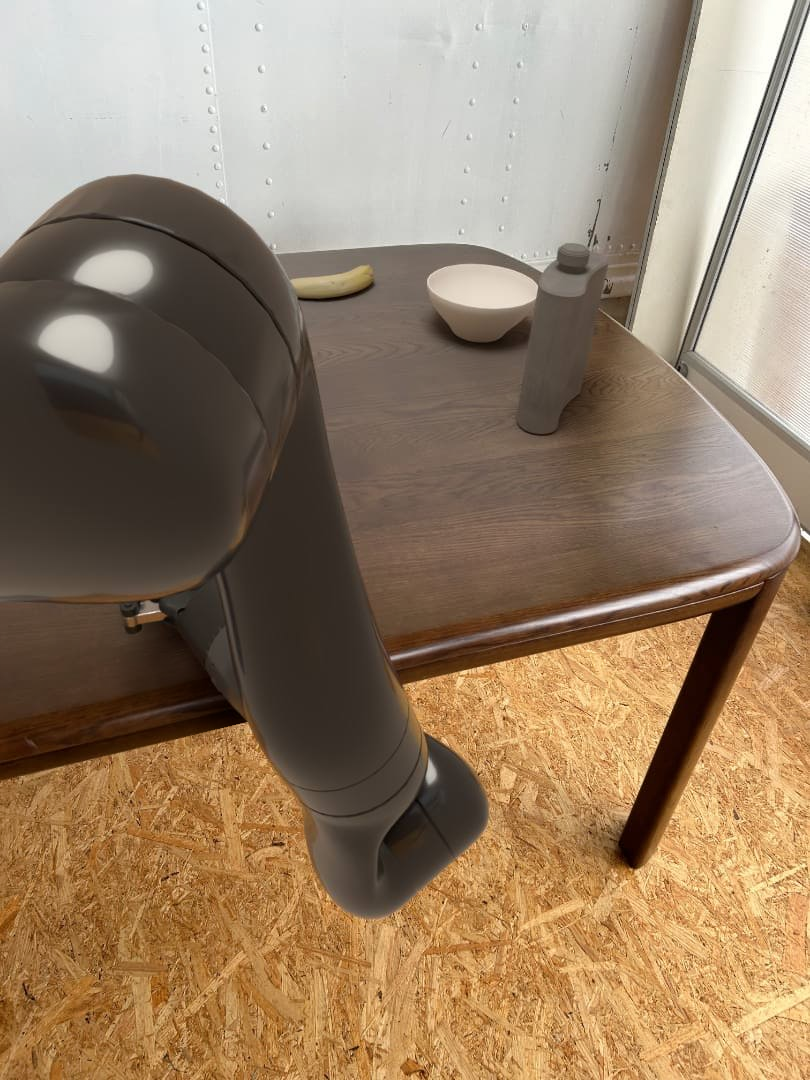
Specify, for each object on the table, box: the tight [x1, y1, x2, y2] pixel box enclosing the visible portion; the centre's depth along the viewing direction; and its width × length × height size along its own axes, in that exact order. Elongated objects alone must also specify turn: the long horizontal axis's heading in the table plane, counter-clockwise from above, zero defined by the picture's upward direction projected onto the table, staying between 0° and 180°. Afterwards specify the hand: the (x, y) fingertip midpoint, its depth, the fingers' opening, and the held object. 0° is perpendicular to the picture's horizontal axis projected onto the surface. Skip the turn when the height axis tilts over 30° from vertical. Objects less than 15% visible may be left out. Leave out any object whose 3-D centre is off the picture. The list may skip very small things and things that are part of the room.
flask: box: [516, 242, 610, 435], centre depth 93 cm, size 15×6×20 cm, turn 154°
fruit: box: [290, 264, 375, 300], centre depth 122 cm, size 7×15×3 cm, turn 113°
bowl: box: [426, 263, 538, 343], centre depth 113 cm, size 16×16×7 cm
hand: (156, 519), depth 65 cm, fingers closed on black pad, 4 cm apart
